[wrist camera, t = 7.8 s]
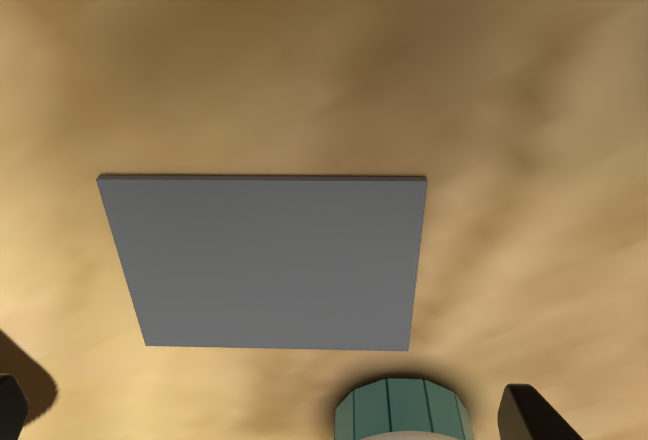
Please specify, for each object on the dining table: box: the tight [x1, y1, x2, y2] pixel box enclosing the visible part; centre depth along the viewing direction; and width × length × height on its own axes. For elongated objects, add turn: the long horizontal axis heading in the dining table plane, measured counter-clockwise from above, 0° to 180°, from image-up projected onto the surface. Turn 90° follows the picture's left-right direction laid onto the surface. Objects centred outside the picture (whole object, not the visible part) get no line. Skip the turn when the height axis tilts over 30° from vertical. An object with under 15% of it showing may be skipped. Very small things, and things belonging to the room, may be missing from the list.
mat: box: [96, 175, 427, 351], centre depth 23 cm, size 14×10×1 cm
